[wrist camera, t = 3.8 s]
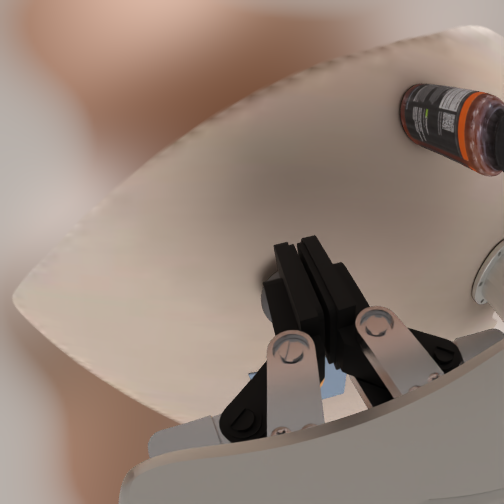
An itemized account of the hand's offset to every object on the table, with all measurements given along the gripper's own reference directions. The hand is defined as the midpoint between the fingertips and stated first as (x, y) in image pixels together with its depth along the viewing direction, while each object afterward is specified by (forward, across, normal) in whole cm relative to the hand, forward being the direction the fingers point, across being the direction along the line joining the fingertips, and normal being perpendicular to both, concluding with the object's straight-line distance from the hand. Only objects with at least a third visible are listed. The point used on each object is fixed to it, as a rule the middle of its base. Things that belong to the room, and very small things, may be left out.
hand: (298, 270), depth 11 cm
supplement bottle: (+12, -16, -4) cm, 20 cm away
